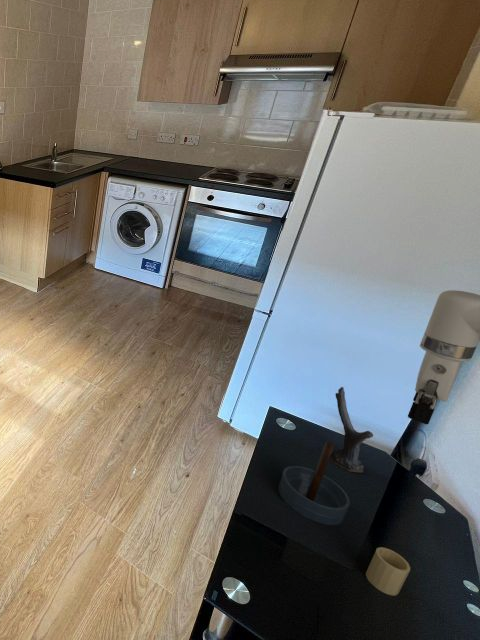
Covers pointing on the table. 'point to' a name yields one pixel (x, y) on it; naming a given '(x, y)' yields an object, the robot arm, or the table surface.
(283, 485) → the bowl
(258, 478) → the table surface
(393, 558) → the cup
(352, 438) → the antler
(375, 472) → the table surface
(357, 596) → the table surface
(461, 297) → the robot arm
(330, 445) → the stick
